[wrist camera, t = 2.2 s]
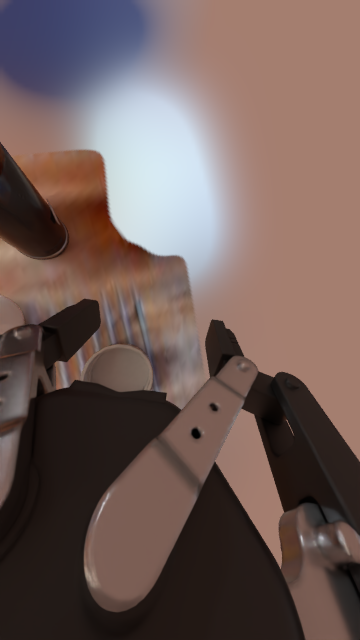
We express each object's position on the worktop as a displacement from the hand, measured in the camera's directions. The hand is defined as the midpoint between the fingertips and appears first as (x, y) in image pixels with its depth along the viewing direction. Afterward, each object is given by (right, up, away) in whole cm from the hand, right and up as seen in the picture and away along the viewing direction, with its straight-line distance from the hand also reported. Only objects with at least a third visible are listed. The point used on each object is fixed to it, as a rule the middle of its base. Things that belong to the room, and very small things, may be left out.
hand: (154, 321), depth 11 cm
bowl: (-10, -11, +20) cm, 25 cm away
